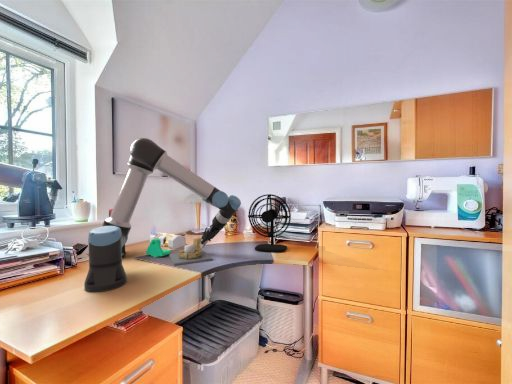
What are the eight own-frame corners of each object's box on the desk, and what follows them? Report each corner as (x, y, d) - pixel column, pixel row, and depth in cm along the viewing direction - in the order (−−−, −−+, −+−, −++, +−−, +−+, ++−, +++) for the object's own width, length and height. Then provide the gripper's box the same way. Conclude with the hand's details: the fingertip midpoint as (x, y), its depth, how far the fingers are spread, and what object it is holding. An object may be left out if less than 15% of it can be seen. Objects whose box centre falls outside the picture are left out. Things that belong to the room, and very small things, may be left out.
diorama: (149, 245, 178) (149, 226, 177) (162, 242, 186) (161, 224, 186) (173, 249, 164) (172, 229, 164) (185, 246, 173) (185, 227, 172)
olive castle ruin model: (193, 259, 135) (193, 244, 135) (174, 257, 139) (174, 243, 139) (208, 251, 151) (208, 238, 151) (191, 250, 155) (191, 237, 155)
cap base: (212, 260, 138) (212, 247, 138) (174, 265, 130) (174, 251, 129) (203, 251, 156) (202, 240, 156) (169, 256, 148) (168, 244, 147)
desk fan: (245, 251, 156) (244, 194, 155) (254, 245, 173) (253, 193, 172) (289, 254, 148) (288, 194, 147) (293, 247, 165) (293, 193, 164)
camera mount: (171, 254, 151) (171, 237, 151) (161, 258, 144) (161, 240, 144) (156, 252, 156) (155, 236, 156) (146, 256, 149) (145, 238, 149)
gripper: (216, 226, 133) (195, 254, 142) (232, 222, 144) (212, 249, 153) (209, 215, 135) (188, 244, 145) (225, 213, 147) (205, 239, 156)
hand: (200, 246), depth 149 cm, fingers closed
